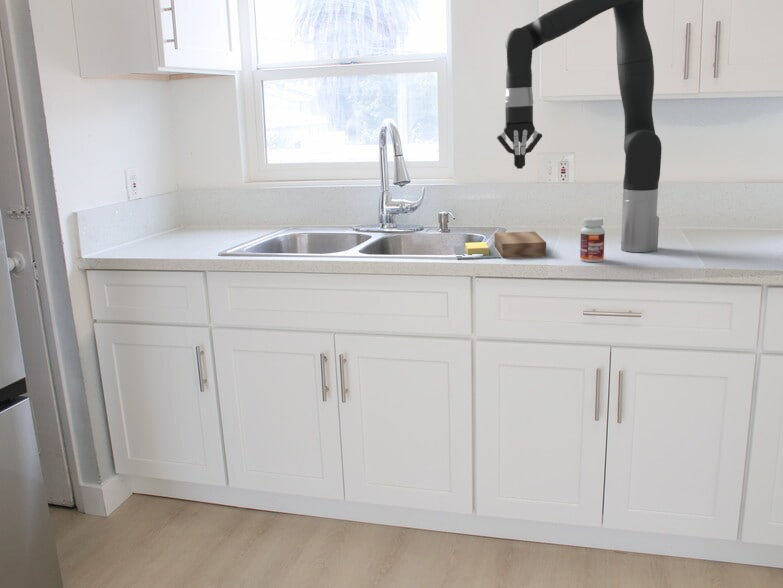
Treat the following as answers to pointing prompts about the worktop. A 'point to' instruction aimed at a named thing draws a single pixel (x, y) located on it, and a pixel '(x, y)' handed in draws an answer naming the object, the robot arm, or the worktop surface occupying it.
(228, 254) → the worktop surface
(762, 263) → the worktop surface
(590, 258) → the pill bottle
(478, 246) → the yellow rectangular block
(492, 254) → the mat
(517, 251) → the brown wooden block
